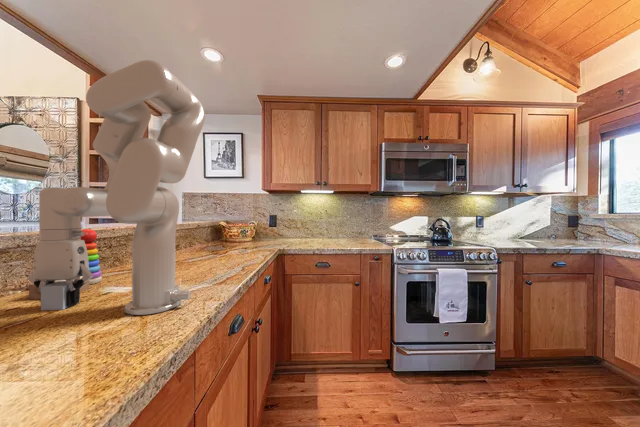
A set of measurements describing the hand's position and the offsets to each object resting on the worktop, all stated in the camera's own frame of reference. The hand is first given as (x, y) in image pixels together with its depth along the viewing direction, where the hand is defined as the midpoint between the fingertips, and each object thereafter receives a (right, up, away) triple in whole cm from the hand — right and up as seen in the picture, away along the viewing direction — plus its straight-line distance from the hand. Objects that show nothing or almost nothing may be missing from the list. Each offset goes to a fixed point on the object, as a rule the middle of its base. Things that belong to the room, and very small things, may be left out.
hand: (61, 304), depth 66 cm
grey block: (0, -1, 0) cm, 1 cm away
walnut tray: (-10, 0, +10) cm, 14 cm away
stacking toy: (-12, 0, +21) cm, 24 cm away
